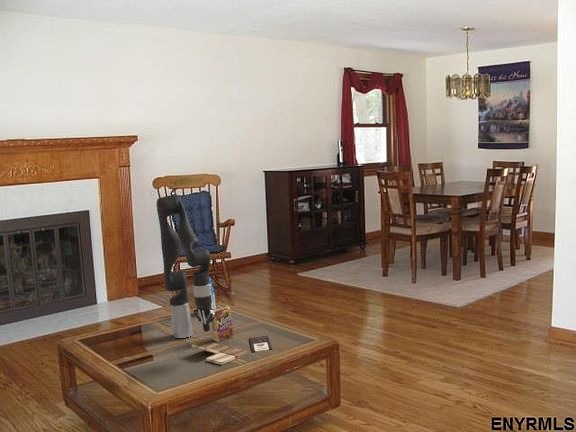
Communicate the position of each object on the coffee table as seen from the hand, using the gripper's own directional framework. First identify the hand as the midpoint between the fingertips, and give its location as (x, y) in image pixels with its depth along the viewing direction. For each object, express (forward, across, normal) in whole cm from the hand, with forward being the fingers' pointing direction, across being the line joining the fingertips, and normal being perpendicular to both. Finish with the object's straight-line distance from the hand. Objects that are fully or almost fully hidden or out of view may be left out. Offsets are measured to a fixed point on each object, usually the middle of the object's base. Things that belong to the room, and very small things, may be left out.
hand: (206, 331), depth 264 cm
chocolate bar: (+13, +11, +22) cm, 28 cm away
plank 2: (+12, +8, -1) cm, 14 cm away
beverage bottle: (+14, -50, +45) cm, 68 cm away
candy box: (+13, -11, +19) cm, 26 cm away
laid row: (+12, +3, +8) cm, 15 cm away
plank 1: (+10, -3, 0) cm, 10 cm away
